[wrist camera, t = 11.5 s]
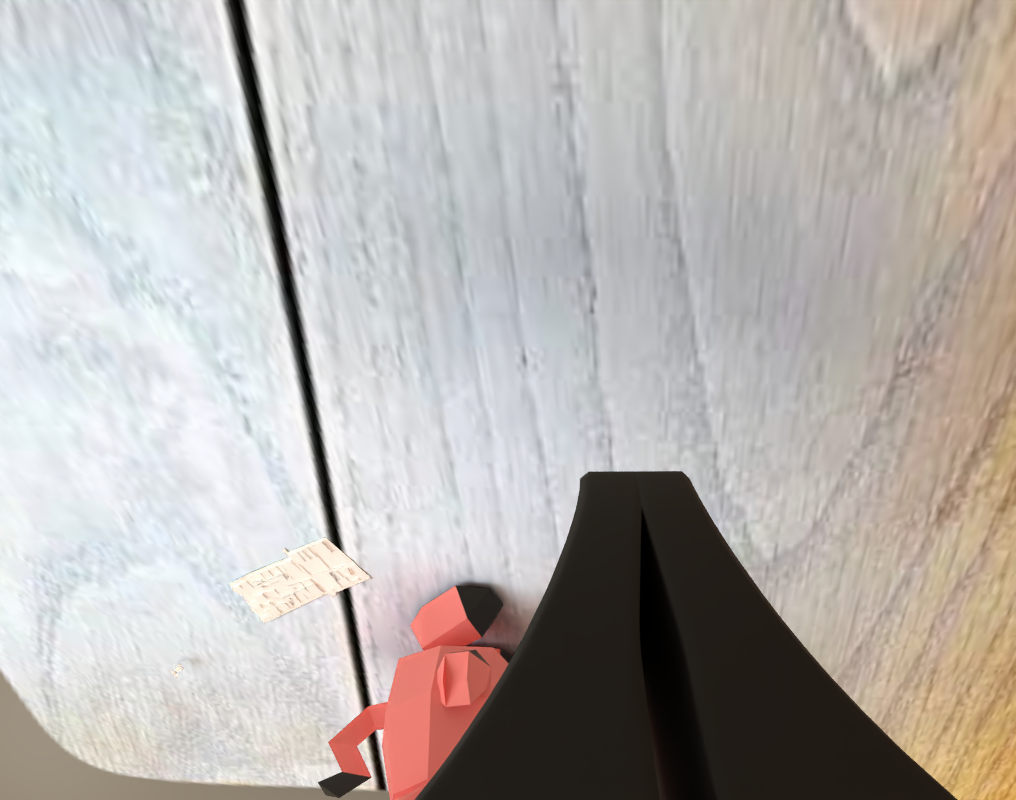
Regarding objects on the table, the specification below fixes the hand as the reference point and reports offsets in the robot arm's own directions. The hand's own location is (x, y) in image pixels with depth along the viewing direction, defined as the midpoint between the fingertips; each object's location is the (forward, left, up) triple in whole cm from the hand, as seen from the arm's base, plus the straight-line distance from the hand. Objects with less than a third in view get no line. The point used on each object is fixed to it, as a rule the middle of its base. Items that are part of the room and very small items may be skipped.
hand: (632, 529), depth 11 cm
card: (-13, +12, -11) cm, 21 cm away
